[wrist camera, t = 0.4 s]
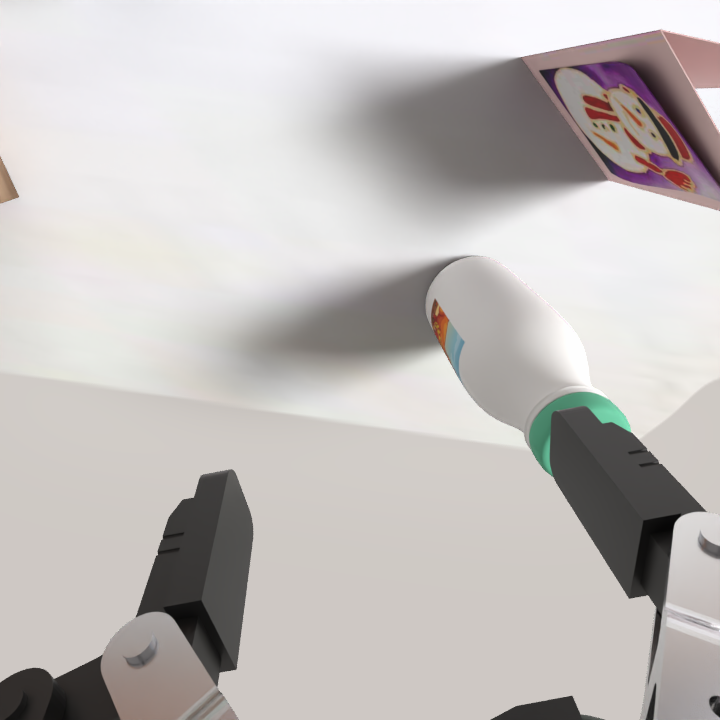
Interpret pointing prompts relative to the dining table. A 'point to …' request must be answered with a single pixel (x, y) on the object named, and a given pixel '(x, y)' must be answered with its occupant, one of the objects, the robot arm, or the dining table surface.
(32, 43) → the dining table surface
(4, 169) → the plinth
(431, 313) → the milk bottle
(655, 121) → the greeting card
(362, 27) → the dining table surface
